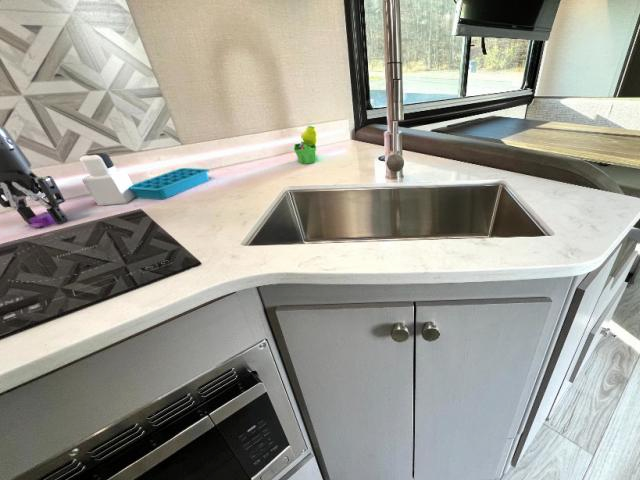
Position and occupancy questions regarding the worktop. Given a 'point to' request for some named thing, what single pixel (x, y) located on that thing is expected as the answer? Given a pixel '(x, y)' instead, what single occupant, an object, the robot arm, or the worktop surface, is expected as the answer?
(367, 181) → the worktop surface
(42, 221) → the candy
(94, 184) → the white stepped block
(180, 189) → the ice cube tray
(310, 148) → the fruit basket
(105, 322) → the worktop surface
